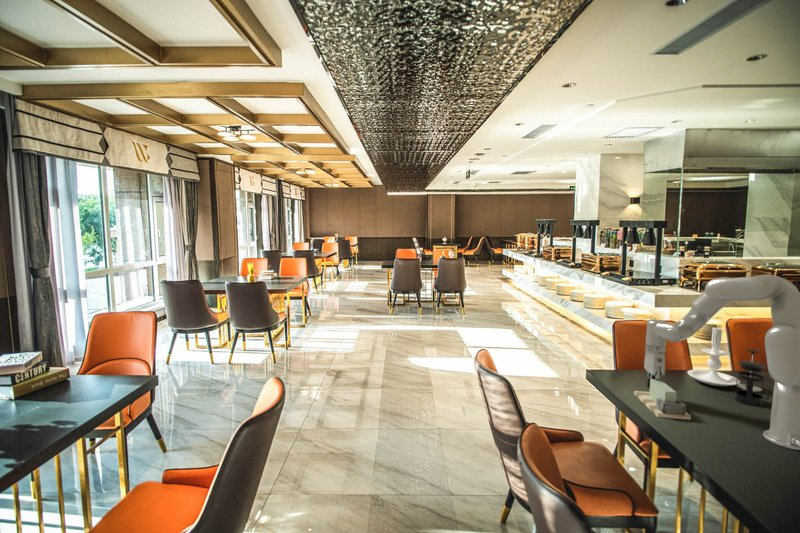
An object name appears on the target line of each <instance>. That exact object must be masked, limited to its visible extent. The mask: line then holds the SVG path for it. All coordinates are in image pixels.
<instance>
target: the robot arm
mask: <svg viewBox="0 0 800 533" xmlns="http://www.w3.org/2000/svg"><path fill="white" fill-rule="evenodd" d="M766 299H768V300H769V302H770V316H771V320H772V321H771V323H772V327H771V328H769V329H768V330H767V332H766V333H765V336H764V348H765V356H766V364H767V370H768V373H769V376H770V377H771V379H773V381H774V387H773V393H772V401H771V402H772V403H771V409H770V410H771V411H770V419H769V420H770V422H769V429H766V430H764V431H763V432H762V435H763V437H764V438H765V439H766V440H767V441H769V442H770V443H772V444H775V445H778V446H781V447H783V448H786V449H791V450H795V451H800V291H799V289H798V288H797V286H795V285H794V284H793V282H791V281H790V280H787V279H786V278H784V277H780V276H779V275H774V274H759V275H755V276H743V277H741V276H740V277H727V276H722V277H715V278H713V279H711V280H709V281H707V283H706V284H705V286H704V291H703V292H702V293H700V294H699V295H698V296H697V297H696V298H695V299H694V300H693V301H692V302H691V308H690V310H689V311H688V312H687V313H686V314H685V315H684V316H683V317H682V318H681V319H680V320H678V321H676V322H673V323H667V321H666V320H663V319H656V318H652V319H648V320H647V323H646V333H645V345H644V346H645V347H644V350H645V354H644V362H643V368H644V370H645V371H646V372H647V384H646V388H648V390H650V379H658V380H661V377H664V376H665V375H666V356H665V353H666V347H667V345H666V344H667V341H668V342H671V343H678V342H682V341H684V340H687V339H689V338H691V337H692V336H694V335H695V334H696V333H697V332H698V331H700V329H702V328H703V327H704V326H705V325H706V324H707V323H708V322H710V320H711V319H712V317H714V316H715V315H716V314H717V313H718V312H719V311H721V310H722V309H723V308H724V307H726V306H727V305H728V303H730V302H736V301H737V302H741V301H742V302H743V301H748V302H749V301H763V300H766Z"/></svg>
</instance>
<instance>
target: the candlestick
mask: <svg viewBox="0 0 800 533" xmlns="http://www.w3.org/2000/svg"><path fill="white" fill-rule="evenodd" d="M722 336H723V329H722V328H719V327H712V329H711V341H710V343H711V348H701V349H700V351H701V352H703V353H706V354H708V355H710V356H709V358H708V359H707V361H706V364H707V367H708V368H709V369H697V368H696V369H691V370H690V369H689V370H688V371H687V373H686V374H688V375H689V376H690V377H692V378H693V379H695V380H696V381H698V382H700V383H704V384H706V385H710V386H716V387H731V386H734V385H735V386H736V382H737V384H741V380H740V379H738V380H737V377H735V376H732V375H730V374H727V373H724V372H719V370H720V369H721V368H722V361H721V360H720V357H724V356H730V355H731V353H730V352H728V351H725V350H720V349H721V342H722Z"/></svg>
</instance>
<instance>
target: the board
mask: <svg viewBox="0 0 800 533" xmlns="http://www.w3.org/2000/svg"><path fill="white" fill-rule="evenodd" d="M649 392H650V391H640V390H634V396H636V398H638V399H639V400H640V401H641V402H642V403H643V405H645V407H647V408H648V409H649V410H650V411H651V412H652V413H653V414H654V415H655V416H656V417H657V418H663V419H665V418H666V419H676V420H677V419H678V420H688V421H691V418H692V415H691V414H689V413H688V411H686V404H685V403H684V402H682V401H681V400H680V399H678V398H676V403H665V402H664V401H663V400H661V399H660V398H657V399H656V403H655V402H654V401H653V400H652V399H651V398H650V397H649Z"/></svg>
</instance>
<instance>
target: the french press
mask: <svg viewBox="0 0 800 533" xmlns="http://www.w3.org/2000/svg"><path fill="white" fill-rule="evenodd" d="M746 351H747V352H750V353H751V354H750V355H751V361H750V360H749V361H748V360H739V361H738V362H737V363H738V364H739V365H740V367H741V368H742V369H743V370H745V371H737V372H736V373H737V374H736V378H737V380H739V378H740V379H742V380H746V383H739V384H737V382H736V385H735V392H734V393H735V395H734V401H736V402H738V403H740V404H744V405H746V406H751V407H761V406H763V399H764V400H769V397H770V388H771V378H769V377H765V376H763V375H762V374H759V373H763V372H764V370H765V368H766V365H764V364H762V363H760V362H755V361H753V360H754V356H755V354H756V353H757V354H758V353H760V351H759V350H756V349H746ZM745 375H747V376H745ZM756 377H757V378H756ZM765 380H766V381H768V386H767V394H766V397H765V396H763V395H764V385H765ZM754 382H759V383H761V382H762V388H760V387H759V386H755V385H754ZM737 388H738V389H739V390H737ZM759 393H761V394H759Z"/></svg>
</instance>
